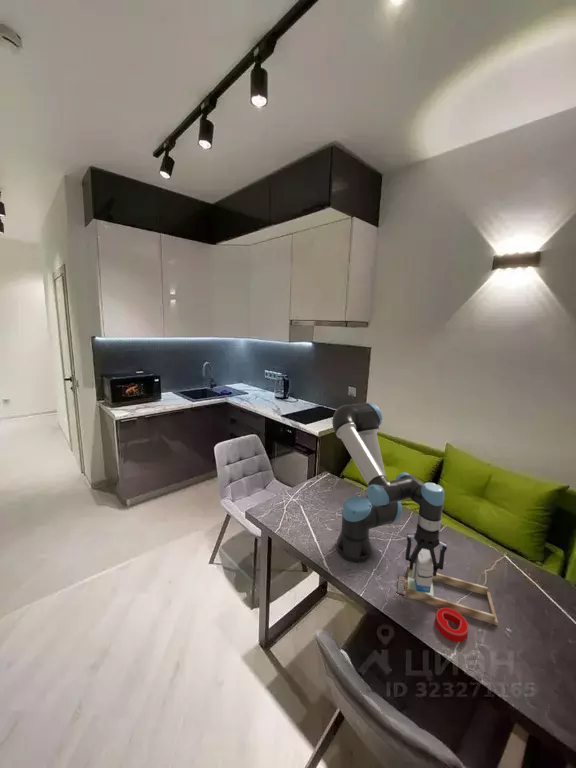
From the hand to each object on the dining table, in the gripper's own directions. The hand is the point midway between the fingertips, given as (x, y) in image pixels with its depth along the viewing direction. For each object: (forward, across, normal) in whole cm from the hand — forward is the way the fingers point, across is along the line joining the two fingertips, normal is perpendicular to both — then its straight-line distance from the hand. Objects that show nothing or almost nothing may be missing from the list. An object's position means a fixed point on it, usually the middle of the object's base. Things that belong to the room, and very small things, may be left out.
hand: (421, 578), depth 120 cm
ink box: (+2, 0, 0) cm, 2 cm away
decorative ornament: (+5, +9, -13) cm, 17 cm away
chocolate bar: (+5, -6, -2) cm, 8 cm away
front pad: (+4, 0, 0) cm, 4 cm away
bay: (+4, +9, 0) cm, 10 cm away
